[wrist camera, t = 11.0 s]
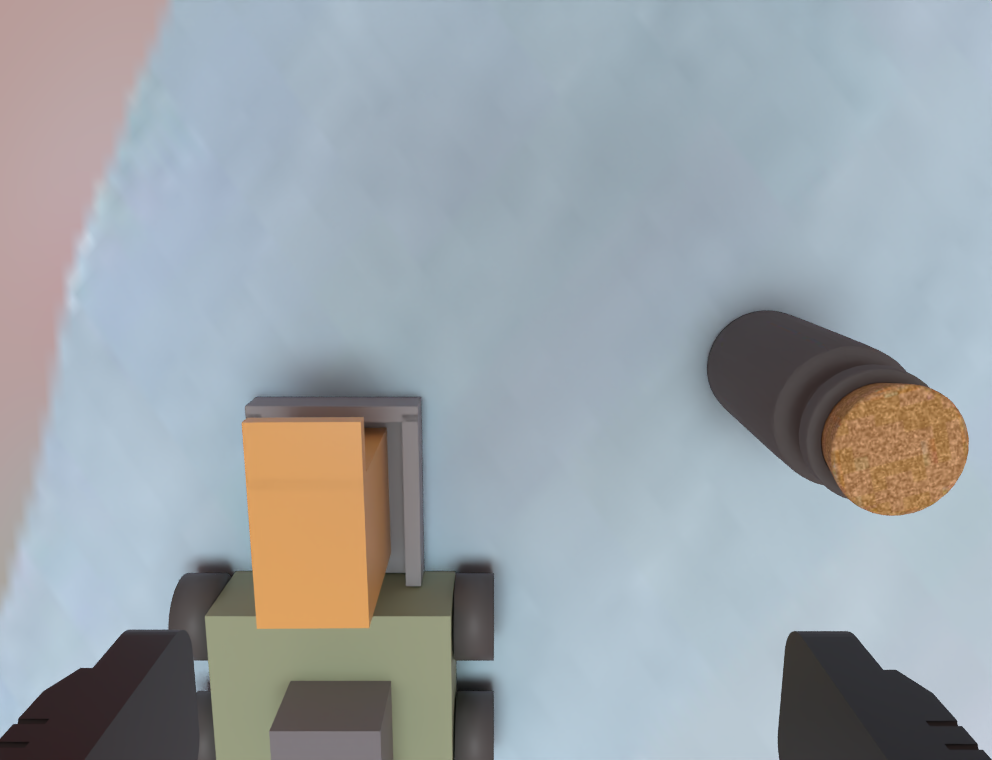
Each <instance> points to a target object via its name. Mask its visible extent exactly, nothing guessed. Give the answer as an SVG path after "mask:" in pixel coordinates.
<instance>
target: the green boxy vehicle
mask: <svg viewBox="0 0 992 760" xmlns="http://www.w3.org/2000/svg"><path fill="white" fill-rule="evenodd" d="M245 415H246V418H276V417H364V428H387V449H388V478H389V507H390V536H391V555H390V558H389V562H388V565H387V569H386V572H385V576H384V579H383V583H382V586H381V589H380V593H379V596H378V600H377V603H376V607H375V610H374V614H373V617H372V620H371V624H370V627H369V628H318V629H257V624H256V611H255V597H254V583H253V571H236V572H235V573H234V575H233V576H232V577H231V576H230V575H229V574H228V573H187V574H185V575H183V576H182V577H181V579H180V580H179V582H178V584H177V586H176V589H175V591H174V594H173V598H172V602H171V607H170V614H169V630H185V631H187V632H188V634H189V636H190V639H191V643H192V650H193V660H208V663H209V676H210V688H211V691H198V692H197V693H196V697H197V709H198V720H199V734H200V742H199V753H198V760H494V691H457V689H456V660H494V573H456V575H455V571H424V527H423V472H422V417H421V397H256V398H254V399H253V400H252V401H251V402H250V403H248V404H247V405H246V406H245Z"/></svg>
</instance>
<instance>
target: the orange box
mask: <svg viewBox="0 0 992 760" xmlns="http://www.w3.org/2000/svg"><path fill="white" fill-rule="evenodd" d="M242 433H243V447H244V460H245V474H246V488H247V501H248V515H249V529H250V542H251V556H252V570H253V583H254V597H255V611H256V624H257V629H318V628H369V627H370V624H371V620H372V617H373V614H374V610H375V607H376V603H377V600H378V596H379V593H380V589H381V586H382V583H383V579H384V576H385V572H386V569H387V565H388V562H389V558H390V555H391V536H390V507H389V478H388V449H387V428H364V417H276V418H246V419H245V420H244V421H243V422H242Z"/></svg>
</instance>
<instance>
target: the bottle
mask: <svg viewBox="0 0 992 760" xmlns="http://www.w3.org/2000/svg"><path fill="white" fill-rule="evenodd" d="M707 372H708V379H709V383H710V387H711V389H712V391H713V393H714V395H715V397H716V398H717V400H718V401H719V402H720V403H721V404H722V406H723V407H724V408H725V409H726V410H727V411H728V412H729V413H730V414H731V415H732V416H734V417H735V418H736V419H737V420H738V421H739V422H740V423H741V424H742V425H743V426H744V427H746V428H747V429H748V430H749V431H750V432H751V433H752V434H753V435H754V436H755V437H756V438H757V439H759V440H760V441H761V442H762V443H763V444H764V445H765V446H766V447H767V448H768V449H769V450H771V451H772V452H773V453H774V454H775V455H776V456H777V457H778V458H780V459H781V460H782V461H783V462H784V463H785V464H787V465H788V466H789V467H790V468H791V469H792V470H794V471H795V472H796V473H798V474H799V475H801V476H802V477H804V478H806V479H808V480H810V481H812V482H814V483H817V484H821V485H824V486H825V487H827V488H828V489H829V490H831V491H832V492H834V493H836V494H837V495H839V496H842V497H844V498H847V499H849V500H850V501H852V502H853V503H854V504H856V505H857V506H859V507H860V508H863V509H865V510H867V511H870V512H872V513H876V514H881V515H889V516H892V515H904V514H909V513H914V512H917V511H920V510H922V509H924V508H926V507H928V506H930V505H932V504H934V503H935V502H937V501H938V500H939V499H940V498H942V497H943V496H944V495H945V494H947V493H948V491H949V490H950V489H951V488H952V487H953V486H954V484H955V483H956V481H957V480H958V478H959V476H960V475H961V473H962V471H963V469H964V466H965V463H966V460H967V455H968V444H969V437H968V432H967V428H966V424H965V422H964V419H963V417H962V415H961V414H960V412H959V410H958V409H957V408H956V406H955V405H954V404H953V403H952V402H951V401H950V400H949V399H948V398H947V397H945V396H944V395H942V394H941V393H939V392H937V391H935V390H933V389H931V388H929V387H928V386H927V384H925V383H924V382H923V381H921V380H920V379H919V378H917V377H915V376H914V375H912V374H910V373H908V372H906V371H905V369H904V368H903V367H902V366H901V365H900V364H899V363H898V362H897V361H895V360H894V359H892V358H891V357H890V356H888V355H886V354H885V353H883V352H881V351H879V350H877V349H874V348H872V347H870V346H868V345H865V344H863V343H861V342H858V341H856V340H853V339H850V338H848V337H845V336H843V335H840V334H838V333H835V332H833V331H830V330H828V329H825V328H823V327H820V326H817V325H815V324H812V323H810V322H807V321H805V320H802V319H800V318H797V317H794V316H792V315H788V314H785V313H782V312H776V311H757V312H753V313H750V314H746V315H744V316H742V317H740V318H738V319H736V320H734V321H733V322H732V323H731V324H729V325H728V326H727V327H726V328H725V329H724V330H723V331H722V332H721V333H720V334H719V336H718V337H717V338H716V340H715V342H714V344H713V346H712V348H711V351H710V354H709V358H708V365H707Z"/></svg>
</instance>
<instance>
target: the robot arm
mask: <svg viewBox="0 0 992 760" xmlns="http://www.w3.org/2000/svg"><path fill="white" fill-rule="evenodd" d="M199 742H200V734H199V720H198V709H197V697H196V685H195V673H194V661H193V650H192V643H191V639H190V636H189V634H188V632H187V631H185V630H127V631H125V632H124V633H123V634H121V636H120V637H119V638H118V639H117V640H116V641H115V643H114V644H113V645H112V646H111V647H110V648H109V650H108V651H107V652H106V653H105V654H104V655H103V657H102V658H101V659H100V660H99V661H98V662H97V664H96V665H95V666H94V667H93V668H80V669H78V670H77V671H75V672H74V673H72V674H70V675H69V676H67V677H66V678H64V679H62V680H61V681H59V682H58V683H56V684H54V685H53V686H51V687H50V688H48V689H46V690H45V691H43V692H42V693H41V694H40V696H39V697H38V698H37V699H36V700H35V701H34V702H33V703H32V704H31V705H30V707H29V708H28V709H27V710H26V711H25V712H24V713H23V714H22V715H21V716H20V717H19V719H18V724H13V725H12V726H11V727H10V728H9V730H8V731H7V732H6V733H5V734H4V735H3V736H2V737H1V738H0V760H198V753H199ZM778 752H779V760H991V758H990V757H989V756H988V755H987V754H986V753H985V752H984V751H983V750H979V749H978V744H977V743H976V742H975V740H974V739H973V738H972V737H971V736H970V735H969V734H968V732H967V731H966V730H965V729H964V728H963V727H962V726H958V725H957V720H956V719H955V718H954V717H953V716H952V714H951V713H950V712H949V711H948V710H947V709H946V708H945V707H944V705H943V704H942V703H941V702H940V701H939V700H938V699H937V697H936V696H935V695H934V694H933V693H932V692H930V691H928V690H927V689H925V688H924V687H922V686H921V685H919V684H917V683H916V682H914V681H913V680H911V679H910V678H908V677H906V676H905V675H903V674H902V673H900V672H899V671H897V670H883V669H882V668H881V667H880V665H879V664H878V663H877V662H876V661H875V659H874V658H873V657H872V656H871V654H870V653H869V652H868V651H867V650H866V648H865V647H864V646H863V645H862V644H861V642H860V641H859V640H858V639H857V637H856V636H855V635H854V634H853V633H851V632H848V631H794V632H791V633H790V635H789V636H788V639H787V642H786V646H785V656H784V668H783V679H782V691H781V703H780V715H779V727H778Z"/></svg>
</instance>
